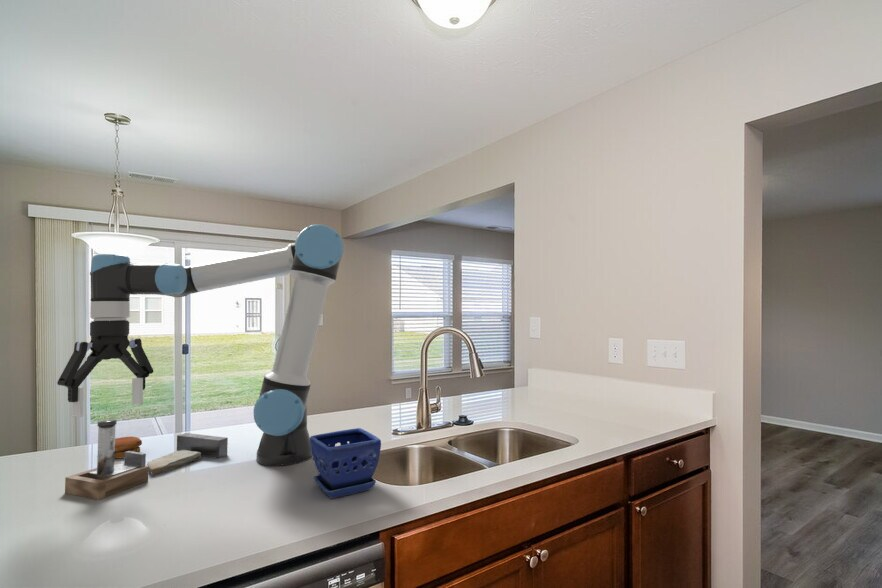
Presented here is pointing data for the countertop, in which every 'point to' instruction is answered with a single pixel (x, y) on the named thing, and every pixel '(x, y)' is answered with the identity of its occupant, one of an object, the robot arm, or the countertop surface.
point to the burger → (126, 446)
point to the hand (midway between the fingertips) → (109, 410)
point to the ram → (108, 451)
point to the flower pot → (345, 461)
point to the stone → (172, 460)
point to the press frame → (104, 483)
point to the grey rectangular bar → (203, 444)
